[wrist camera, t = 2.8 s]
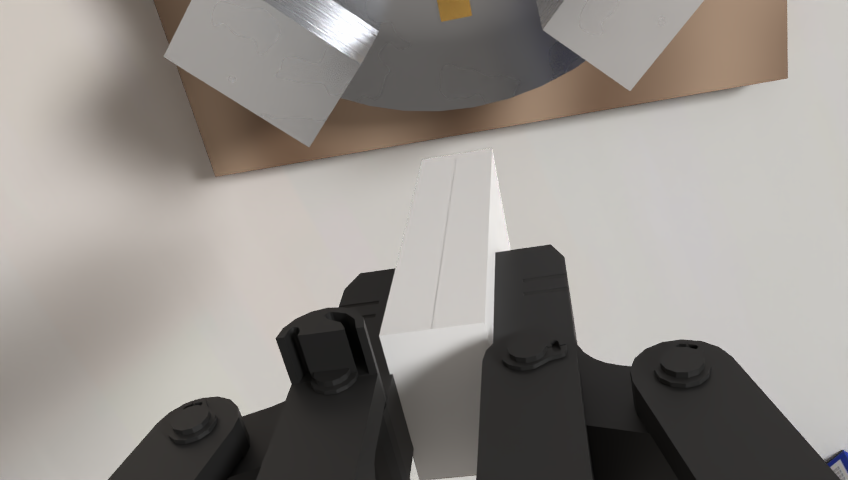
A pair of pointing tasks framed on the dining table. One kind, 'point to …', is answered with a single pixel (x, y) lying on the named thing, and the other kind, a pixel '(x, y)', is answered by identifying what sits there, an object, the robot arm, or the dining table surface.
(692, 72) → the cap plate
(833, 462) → the milk carton
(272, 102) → the notched metal disc
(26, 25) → the dining table surface
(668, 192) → the dining table surface
